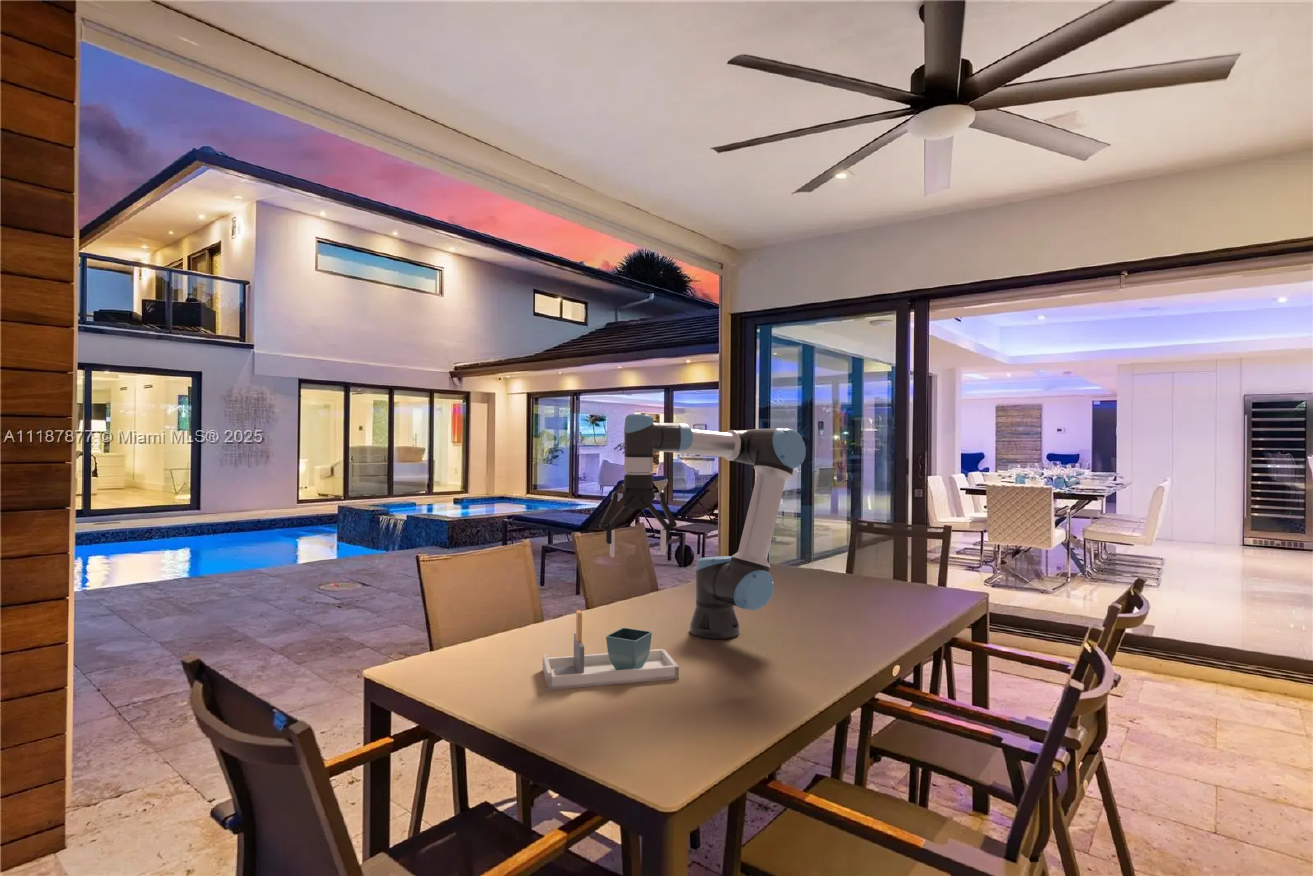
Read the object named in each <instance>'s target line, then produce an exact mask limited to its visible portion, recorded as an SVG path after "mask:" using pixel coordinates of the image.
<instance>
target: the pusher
mask: <svg viewBox="0 0 1313 876" xmlns="http://www.w3.org/2000/svg"><path fill="white" fill-rule="evenodd" d="M575 616H576V617H575V618H576V619H575V621H576V622H575V623H576V624H575V626H576V627H575V633H573V656H574V666H568V667H555V672H556V675H566V674H578V673H584V655H585V646H584V643H583V641H582V640H583V612H582V610H581V609H580V610H579V609H576V615H575Z"/></svg>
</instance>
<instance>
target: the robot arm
mask: <svg viewBox="0 0 1313 876" xmlns="http://www.w3.org/2000/svg"><path fill="white" fill-rule="evenodd" d="M624 420H625V421H624V431H623V435H624V436H623V437H624V440H623V441H624V442H623V443H624V444H623V445H624V446H623V447H624V452H623V453H624V458H623V459H624V462H623V463H624V465H623V469H624V470H623V471H624V473H626V474H624V475H623V492H622V493H618V492H615V491H613V492H612V493H611V498H610V501H609V505H607V508H606V510H605V512H604V514H603V516H602V518H601V519H600V522H599V524H598V527H599V528H600V530H601V529H602V530H604V531H605V542H606V543H607V544H608V545H609V557H611V558H615V557H616V556H615V555H616V551H615V548H616V547H615V545H616V540H615V539H616V532H615V530H614V528H615V527H616V526H617V525H618V523H619V522H620V521H621V520H622V519H623V517H624V516H625V515H626V513H628V512H629V510H634V511H636V510H643V511H644V510H646V509H647V510H649V512H650V513H651V514H652V515H653V517H654V518H655V519H656V521H658V522H659V524H660V525H661V526H662V528H660V552H659V553H660V554H661V555H662V556H667V543H668V542H669V543H670V532H671V531H670V530H672V529H673V528H676V527H677V526H678V525H677V521H676V520H675V518H674V515H673V513H672V511H671V509H670V507H669V505H668V503H667V500H666V494H665V492H663V491H658V492H654V476H653V474H652V473H653V472H654V452H663V453H674V454H675V453H676V454H685V455H686V454H687V455H695V456H696V455H699V456H710V457H718V458H719V457H721V458H722V457H723V458H724V460H726V461H731V462H737V463H741V464H746V465H752V466H753V469H754V471H755V472H756V478H755V482H754V486H753V490H752V493H751V498H750V502H749V506H748V509H747V512H746V513H747V514H746V518H745V522H744V526H743V530H742V534H741V538H740V542H739V545H738V550H737V552H736V553H734V554H733V555H731V556H730V555H722V556H721V555H719V556H707V557H700V558H699V559H698V560H697V561H696V565H695V566H696V567H695V608H694V612H693V615H692V618H691V621H690V625H689V626H690V627H689V632H690V633H691V635H693V636H695V637H698V638H701V639H710V640H711V639H712V640H725V639H731V638H735V637H737V636H738V635H740V630H741V629H740V623H739V620H738V616H737V613H736V610H735V607H737V608H740V609H743V610H748V611H758V610H760V609H762V608H763V607H765V606H766V605H767V604H768V603H769V602H770V601H771V599H772V597H773V594H774V591H775V582H774V578H773V577H772V575H771V574H770V570H771V565H770V563H769V562H768V555H769V552H770V547H771V542H772V539H773V535H774V531H775V527H776V522H777V518H778V513H779V510H780V506H781V502H782V498H783V493H784V488H785V485H786V481H787V480H789V479H791V478H792V476H793V473H794V470H795V469H797V468H798V467H800V465H802V464H803V463H804V461H805V459H806V453H807V452H806V451H807V449H806V444H805V441H804V440H803V437H802V436H801V435H800V433H799V432H798V431H796V430H795V429H792V428H785V427H778V428H753V429H752V428H751V429H745V430H744V429H743V430H742V429H741V430H734V429H730V430H727V431H726V432H724V431H723V432H722V431H714V430H704V429H695V428H691V426H690V425H689V424H687V423H683V422H682V423H681V422H656V421H654V416H653V415H652V414H646V413H645V414H643V413H642V414H641V413H639V414H638V413H637V414H635V413H633V414H631V413H630V414H628V415H626V416H625V419H624ZM621 499H622V500H623V501H624V503H623V505H622V506H621V508H620V509H619V511H617V513H616V514H615V515H614V516H613V517H612V519H611V520H610V518H611V516H612V514H613V512H614V510H615V508H616V506H617V503H618V502H620V500H621ZM654 499H656V500H657V501H658V502H659V504H660V507H661V508H662V511H663V513H664V515H665V517H666V519H667V521H668V522H667V521H666V520H665V519H664V517H663V516H662V515H661V513H660V512H659V511H658V510H657V508H656V507H655V506H654V505H653V503H652V502H653V500H654ZM609 520H610V521H609ZM608 522H609V523H608Z"/></svg>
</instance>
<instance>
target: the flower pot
mask: <svg viewBox="0 0 1313 876" xmlns="http://www.w3.org/2000/svg"><path fill="white" fill-rule="evenodd" d="M652 634H653V633H652V631H649V630H643V629H642V630H641V629H635V628H629V627H621V628H620V629H617V630H615V631H614V632H611V633H610V634H607V635H606V636H605V640H606V647H607V653H608V655H609V658H610V661H611V663H612V665H613V666H614V668H615V669H616V670H625V669H637V668H642V667H643V665H644V664H645V662H646V660H647V658H648V655H649V651H650V650H651V645H652V644H651V643H652V642H651V641H652Z"/></svg>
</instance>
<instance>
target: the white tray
mask: <svg viewBox="0 0 1313 876" xmlns="http://www.w3.org/2000/svg"><path fill="white" fill-rule="evenodd" d="M568 666H574V655H567V656H555V657H548V654H547V653H542V673H543V677H544V682H545V685H546V690H547V691H556V690H557V691H558V690H566V689H577V688H589V687H599V686H601V687H602V686H603V687H604V686H611V685H614V686H615V685H622V684H635V683H647V682H657V681H667V680H679V678H680V666H679V665H678V663H677V662H676V661H675V660H674V659H673V657H671V655H670V654H669V653H668V652H667V651H666V649H665V648H659V649H658V648H656V649H650V651H649V655H648V658H647V660H646V662H645V664H644V665H643V667H642V668H637V669H625V670H616V669H615V668H614V666H613V665H612V663H611V661H610V658H609V655H608V652H605V653H593V654H592V653H590V654H584V673H578V674H566V675H556V672H555V667H568Z"/></svg>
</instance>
